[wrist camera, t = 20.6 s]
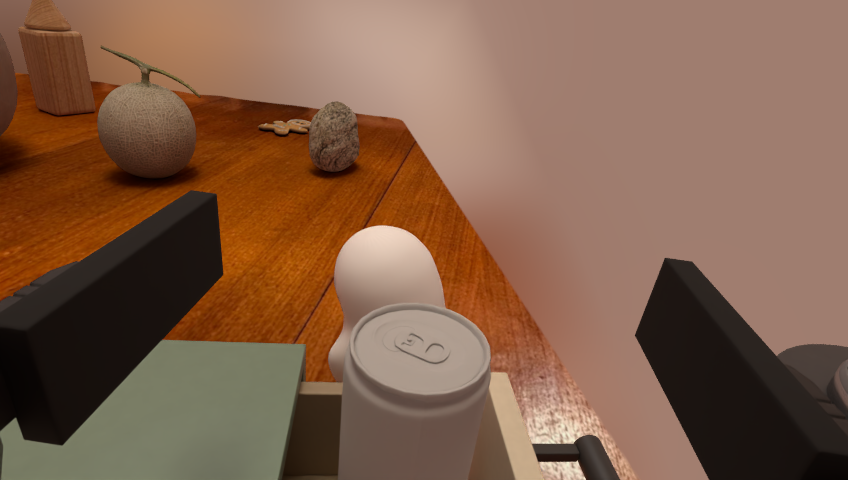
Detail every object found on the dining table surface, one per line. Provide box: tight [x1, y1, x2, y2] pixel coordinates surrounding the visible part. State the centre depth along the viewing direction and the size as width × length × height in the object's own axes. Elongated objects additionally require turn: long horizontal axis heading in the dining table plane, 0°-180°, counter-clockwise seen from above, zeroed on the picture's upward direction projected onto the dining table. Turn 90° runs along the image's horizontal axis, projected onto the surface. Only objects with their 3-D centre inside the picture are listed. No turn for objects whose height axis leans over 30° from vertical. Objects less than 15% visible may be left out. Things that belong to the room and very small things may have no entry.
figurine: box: [328, 226, 445, 383], centre depth 30 cm, size 7×8×12 cm
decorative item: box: [18, 0, 95, 116], centre depth 79 cm, size 7×7×20 cm
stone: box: [309, 102, 359, 172], centre depth 70 cm, size 6×10×10 cm, turn 153°
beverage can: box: [338, 303, 491, 480], centre depth 18 cm, size 5×5×12 cm
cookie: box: [258, 120, 311, 135], centre depth 89 cm, size 8×1×10 cm
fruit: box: [97, 46, 201, 178], centre depth 59 cm, size 10×12×15 cm
